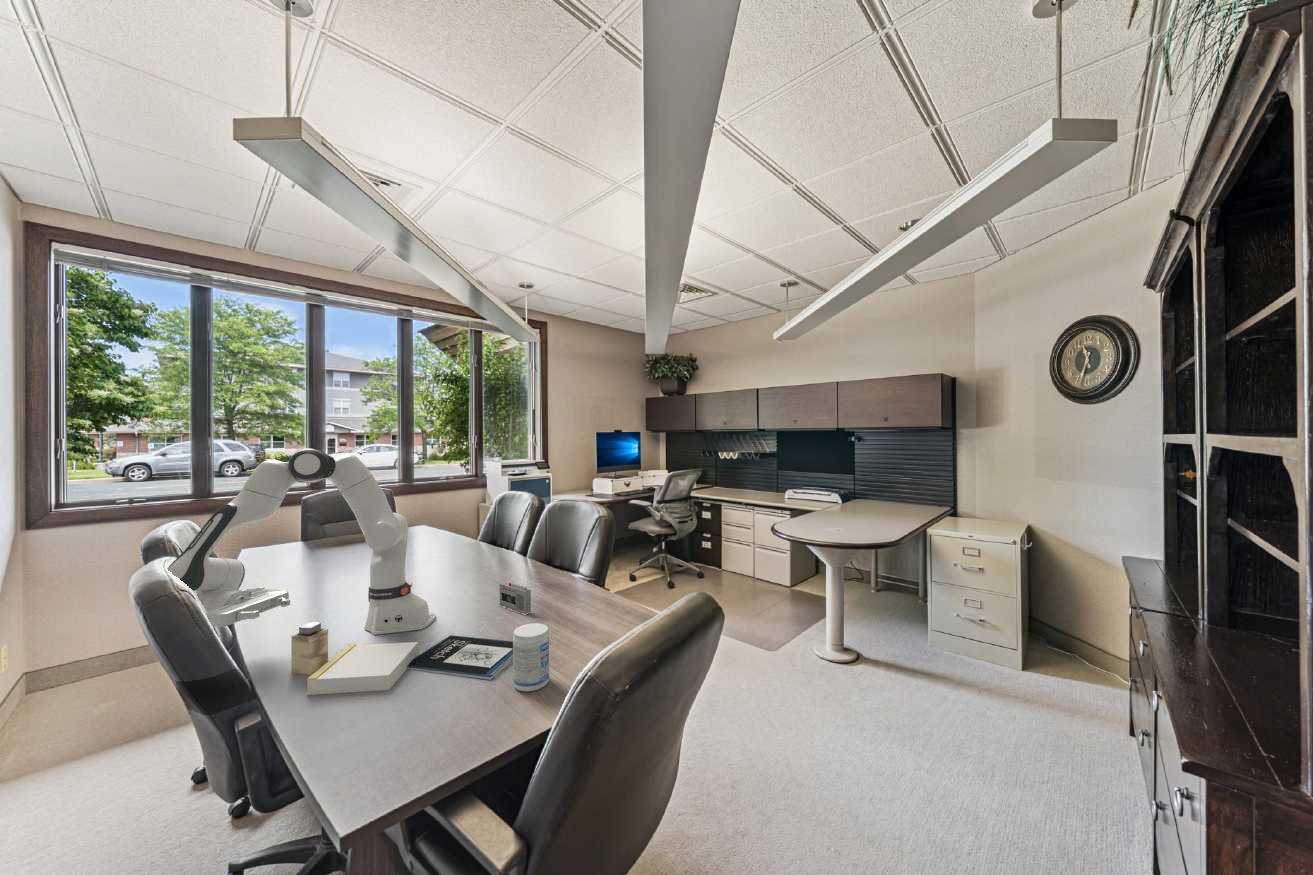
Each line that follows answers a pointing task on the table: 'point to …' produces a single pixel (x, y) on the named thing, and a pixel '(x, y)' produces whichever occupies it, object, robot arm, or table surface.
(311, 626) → the metal block
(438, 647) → the sketchbook
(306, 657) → the wooden block
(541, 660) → the supplement tub
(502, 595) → the cassette player
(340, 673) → the white square slab
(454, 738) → the table surface
